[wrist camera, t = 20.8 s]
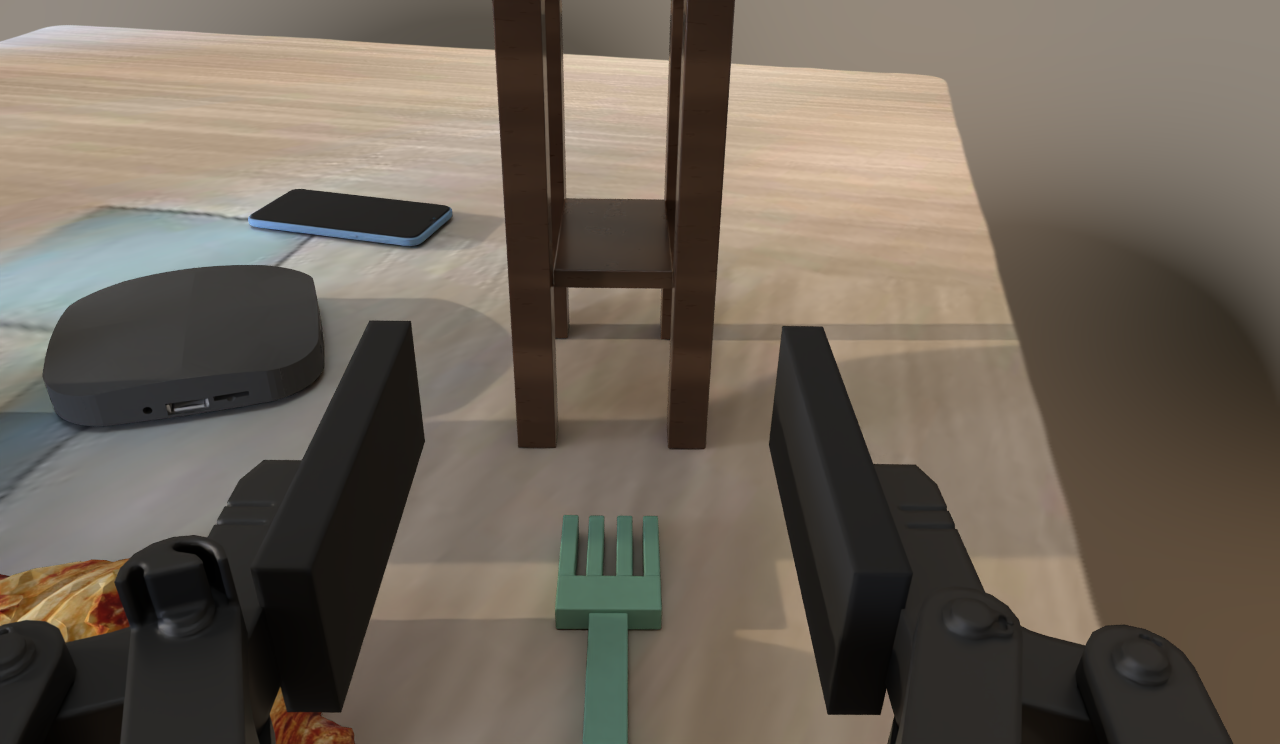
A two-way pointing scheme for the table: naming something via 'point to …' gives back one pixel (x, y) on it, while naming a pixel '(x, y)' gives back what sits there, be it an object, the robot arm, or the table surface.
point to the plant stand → (611, 210)
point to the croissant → (93, 607)
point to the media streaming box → (185, 344)
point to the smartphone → (352, 217)
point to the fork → (608, 616)
